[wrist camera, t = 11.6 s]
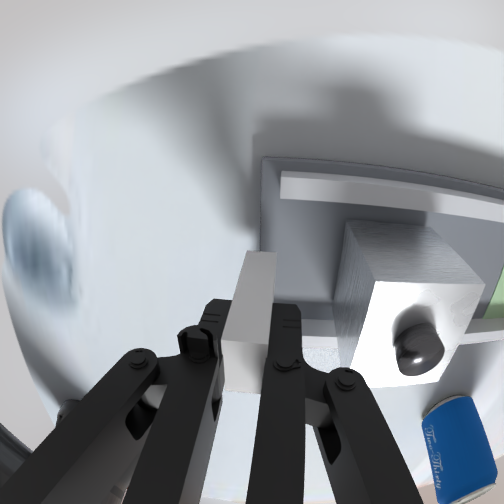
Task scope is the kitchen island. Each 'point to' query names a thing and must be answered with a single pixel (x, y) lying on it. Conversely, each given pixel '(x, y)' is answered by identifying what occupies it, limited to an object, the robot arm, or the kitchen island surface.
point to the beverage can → (458, 451)
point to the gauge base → (378, 210)
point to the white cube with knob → (401, 302)
